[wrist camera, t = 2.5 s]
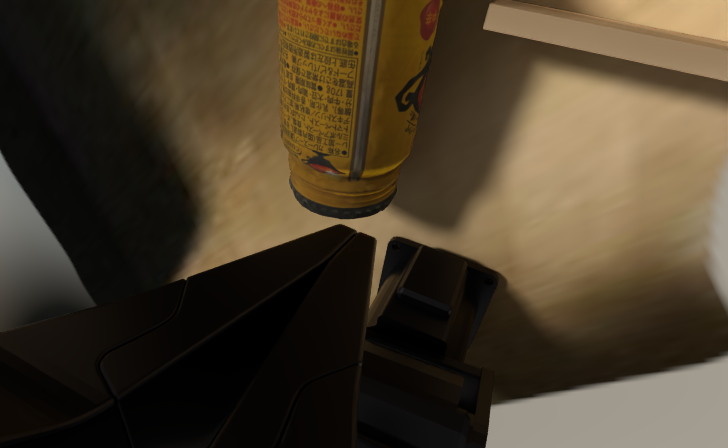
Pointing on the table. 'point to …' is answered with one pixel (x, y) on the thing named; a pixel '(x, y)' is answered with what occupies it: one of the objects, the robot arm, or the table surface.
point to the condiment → (351, 97)
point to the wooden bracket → (610, 38)
